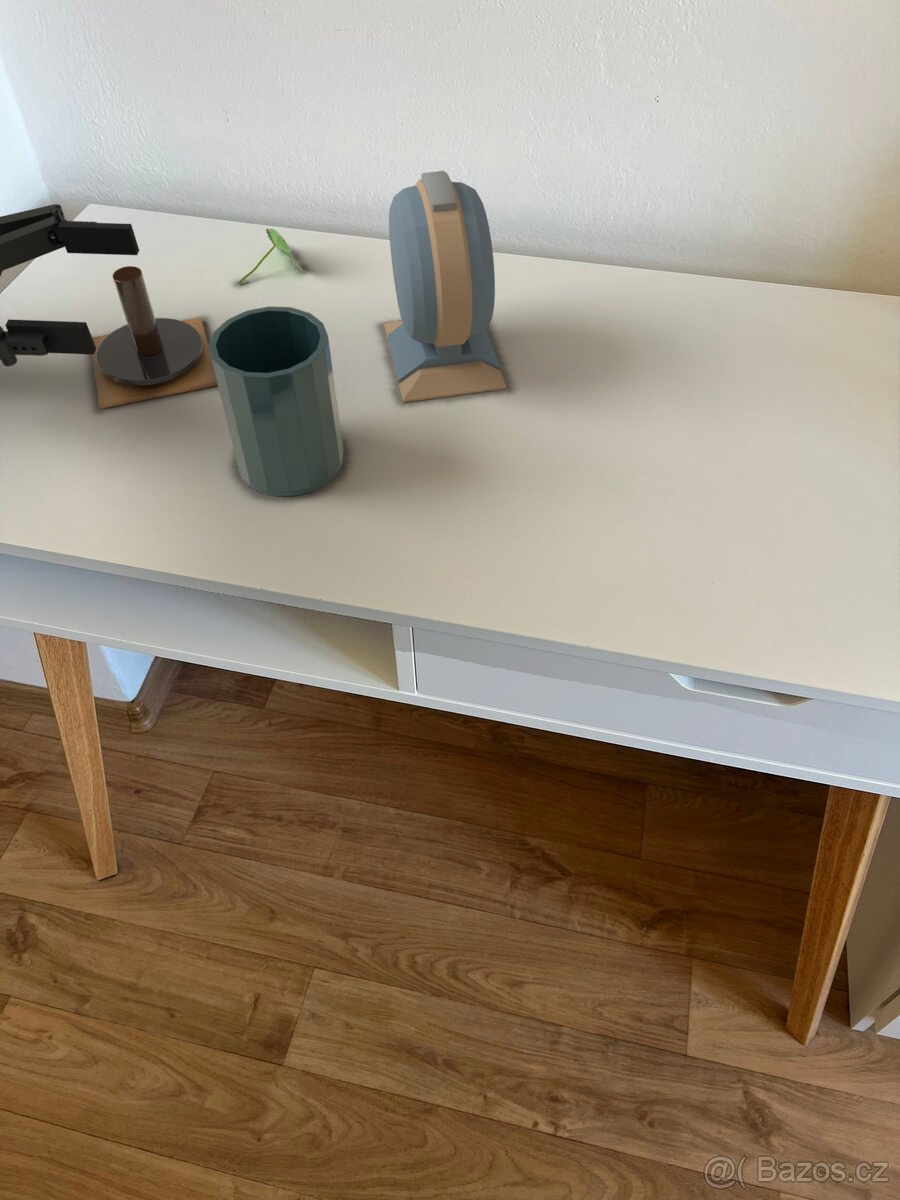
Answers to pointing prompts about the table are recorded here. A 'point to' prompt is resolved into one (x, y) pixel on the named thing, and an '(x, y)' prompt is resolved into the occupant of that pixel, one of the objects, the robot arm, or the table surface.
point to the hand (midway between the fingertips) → (113, 286)
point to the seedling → (278, 243)
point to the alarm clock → (442, 291)
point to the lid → (146, 339)
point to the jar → (279, 399)
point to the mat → (190, 380)
